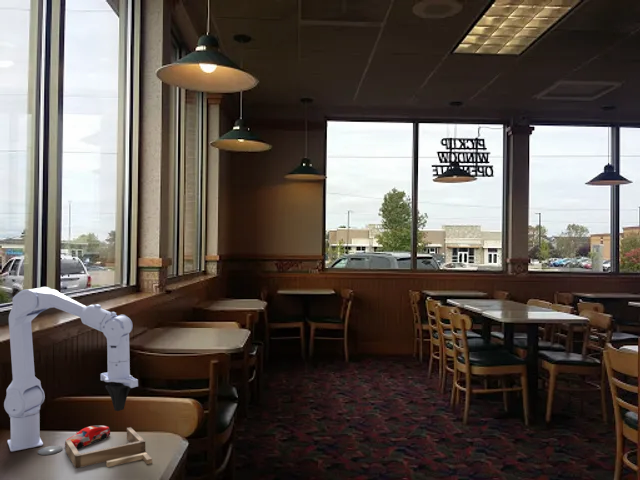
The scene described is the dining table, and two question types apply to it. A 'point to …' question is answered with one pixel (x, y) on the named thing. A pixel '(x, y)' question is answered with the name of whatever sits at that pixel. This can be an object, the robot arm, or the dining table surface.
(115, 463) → the oak crook stick
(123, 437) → the dining table surface
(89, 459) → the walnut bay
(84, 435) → the race car
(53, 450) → the slate coaster
